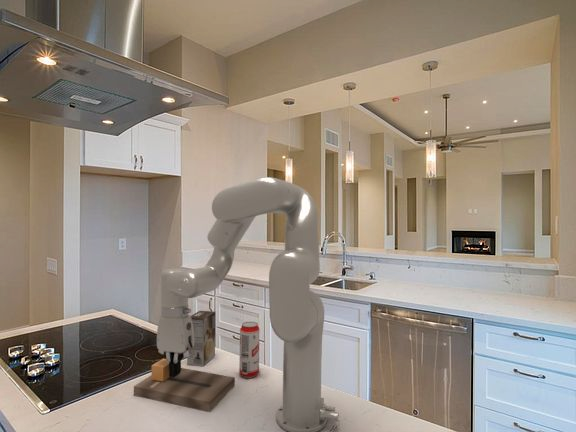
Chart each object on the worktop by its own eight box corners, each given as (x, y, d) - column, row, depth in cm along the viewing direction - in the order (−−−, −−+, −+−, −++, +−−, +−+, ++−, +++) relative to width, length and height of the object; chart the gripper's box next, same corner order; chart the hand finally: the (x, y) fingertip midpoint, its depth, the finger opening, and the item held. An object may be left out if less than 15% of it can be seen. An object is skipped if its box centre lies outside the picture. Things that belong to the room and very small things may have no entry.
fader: (174, 373, 99) (174, 360, 99) (162, 381, 94) (163, 367, 94) (162, 371, 100) (163, 358, 100) (151, 379, 95) (151, 365, 95)
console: (234, 385, 97) (234, 377, 97) (209, 411, 84) (209, 401, 84) (166, 373, 105) (166, 364, 105) (133, 395, 91) (133, 385, 91)
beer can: (235, 377, 103) (236, 325, 103) (244, 368, 109) (245, 320, 109) (254, 380, 101) (254, 328, 101) (262, 371, 107) (262, 322, 107)
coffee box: (199, 354, 120) (199, 310, 120) (215, 355, 118) (216, 311, 119) (186, 365, 111) (187, 317, 111) (203, 367, 109) (204, 318, 110)
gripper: (204, 309, 97) (204, 372, 97) (162, 306, 102) (162, 366, 101) (189, 316, 90) (189, 384, 90) (144, 312, 95) (144, 377, 94)
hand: (174, 374), depth 95 cm, fingers closed
